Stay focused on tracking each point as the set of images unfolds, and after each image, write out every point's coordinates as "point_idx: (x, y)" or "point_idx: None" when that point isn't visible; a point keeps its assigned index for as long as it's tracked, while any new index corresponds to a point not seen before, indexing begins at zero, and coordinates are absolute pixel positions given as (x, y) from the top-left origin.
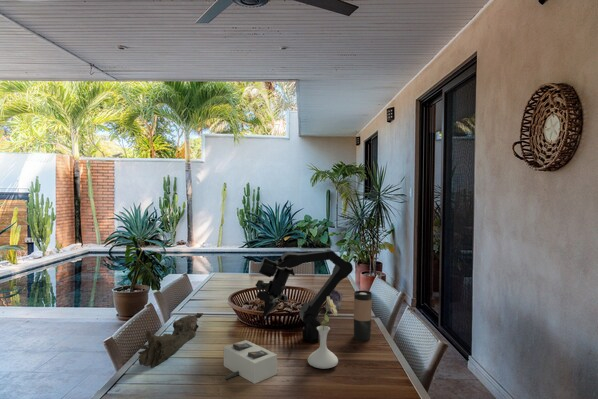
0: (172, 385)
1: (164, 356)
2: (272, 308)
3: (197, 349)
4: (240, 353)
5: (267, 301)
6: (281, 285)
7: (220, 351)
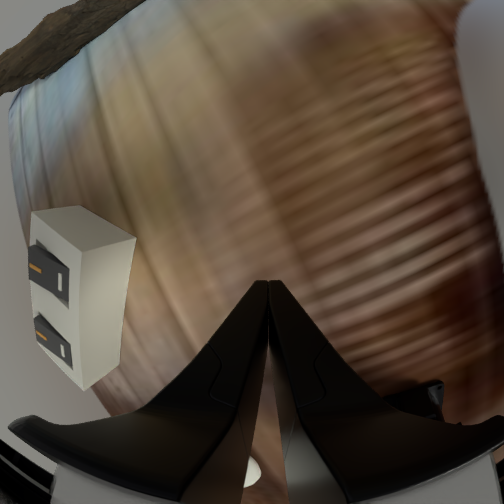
0: (22, 171)
1: (50, 67)
2: (280, 429)
3: (135, 45)
4: (34, 288)
5: (11, 457)
6: None
7: (143, 113)
